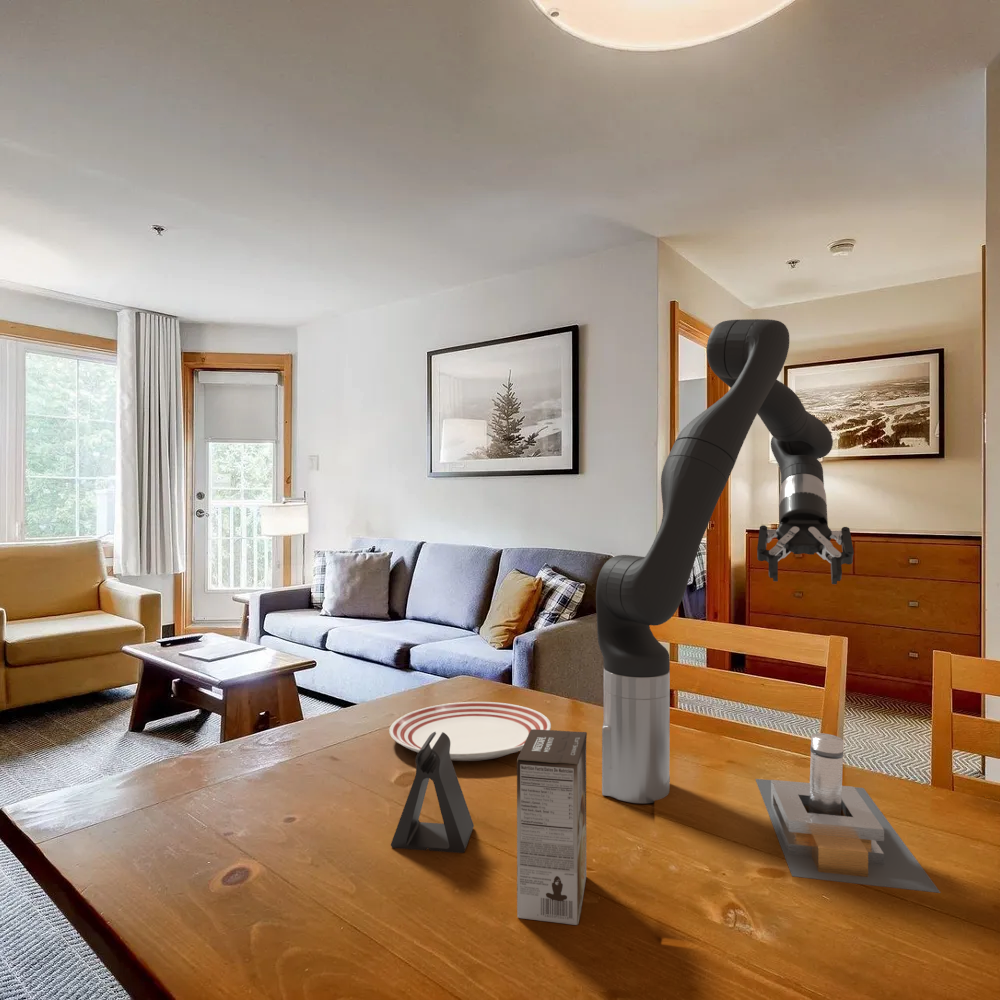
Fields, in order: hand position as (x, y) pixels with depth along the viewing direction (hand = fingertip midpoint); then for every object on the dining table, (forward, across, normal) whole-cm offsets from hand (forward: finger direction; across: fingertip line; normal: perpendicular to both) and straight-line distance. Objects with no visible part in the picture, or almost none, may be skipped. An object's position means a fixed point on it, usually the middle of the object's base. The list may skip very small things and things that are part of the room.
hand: (804, 579), depth 107 cm
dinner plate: (+29, -52, +12) cm, 61 cm away
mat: (+37, +2, +4) cm, 37 cm away
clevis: (+39, +1, +1) cm, 39 cm away
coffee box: (+56, -26, -15) cm, 63 cm away
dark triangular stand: (+51, -43, -10) cm, 68 cm away
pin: (+39, +1, +1) cm, 39 cm away
